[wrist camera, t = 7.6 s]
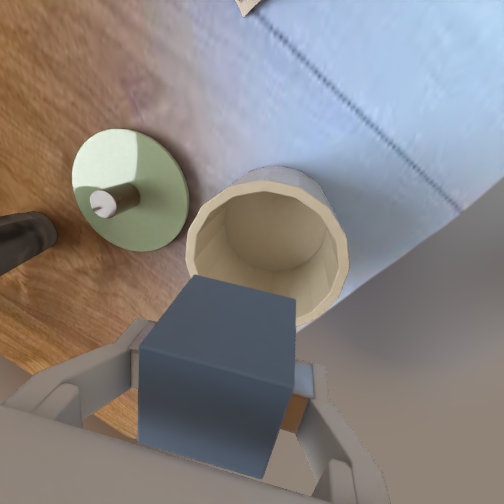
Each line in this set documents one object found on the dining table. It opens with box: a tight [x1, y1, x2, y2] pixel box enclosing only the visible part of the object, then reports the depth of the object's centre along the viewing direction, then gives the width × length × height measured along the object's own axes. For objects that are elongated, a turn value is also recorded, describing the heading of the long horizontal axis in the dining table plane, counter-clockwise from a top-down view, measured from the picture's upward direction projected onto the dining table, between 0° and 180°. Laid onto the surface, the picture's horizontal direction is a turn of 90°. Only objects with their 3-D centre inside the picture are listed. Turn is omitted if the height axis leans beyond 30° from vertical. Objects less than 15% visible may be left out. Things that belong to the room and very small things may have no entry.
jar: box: [185, 166, 350, 327], centre depth 24 cm, size 11×11×10 cm
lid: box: [72, 129, 189, 252], centre depth 27 cm, size 12×12×5 cm
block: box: [137, 275, 296, 479], centre depth 10 cm, size 4×4×4 cm
